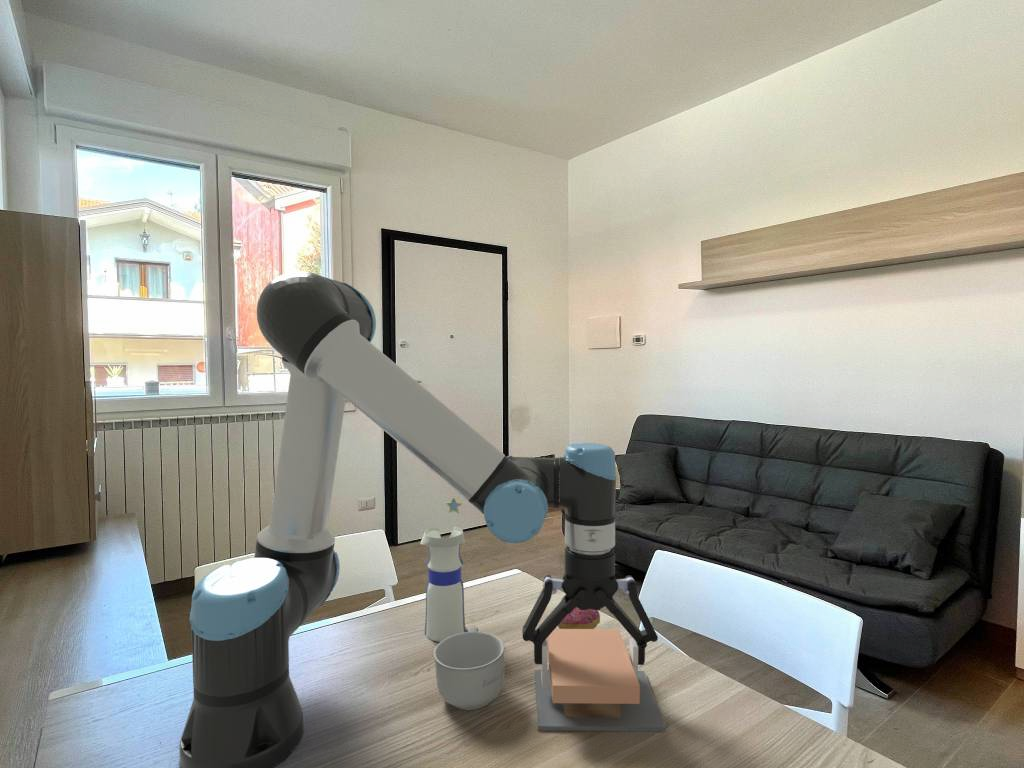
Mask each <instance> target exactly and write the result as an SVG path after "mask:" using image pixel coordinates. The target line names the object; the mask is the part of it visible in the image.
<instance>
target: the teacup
mask: <svg viewBox="0 0 1024 768" xmlns="http://www.w3.org/2000/svg"><path fill="white" fill-rule="evenodd" d="M505 649H506V648H505V644H504V642H503V640H502V639H501V638H500V637H498V636H497V635H495V634H493V633H489V632H483V631H479V628H478V626H469V627H468V631H465V632H464V633H459V634H455V635H452V636H450V637H448V638H446V639H444V640H443V641H441V642H439V643H438V644H437V645H436V646H435V647H434V650H433V660H434V670H435V677H436V684H437V685H436V686H437V690H438V692H439V694H440V696H441V698H442V699H443V700H444V702H447V703H448V704H450V705H451V706H453V707H456V708H458V709H460V710H463V711H464V710H465V711H466V710H468V711H469V710H471V711H473V710H477V709H480V708H483V707H486V706H487V705H488V704H490V703H491V702H492V701H493V700H494V699H496V697H498V695H499V694H500V693H501V691H502V689H503V687H504V683H505V673H506V671H505Z"/></svg>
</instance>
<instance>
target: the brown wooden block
mask: <svg viewBox="0 0 1024 768" xmlns="http://www.w3.org/2000/svg"><path fill="white" fill-rule="evenodd" d="M563 704H564V712H565V717H601V718H621V704H599V703H563Z"/></svg>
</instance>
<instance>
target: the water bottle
mask: <svg viewBox="0 0 1024 768" xmlns="http://www.w3.org/2000/svg"><path fill="white" fill-rule="evenodd" d="M445 504H446V505H447V506H448V507H449V509H448V510H449V511H448V513H452V512H455V513H457V514H459V513H460V511H459V507H460V506H461V505H463V503H461V502H457V500H456V498H455V497H452V500H451V501H448V502H445ZM441 536H442V535H441V533H440V531H439V528H437V527H435V526H434V527H429V528H428V529H425V530H424V532H423V536H422V538H421V540H420V545H422V546H426V547H428V550H429V555H428V556H429V557H428V558H427V561H426V564H425V565H426V567H427V568H428V569H427V571H428V572H427V573H428V574H427V575H428V578H427V579H428V580H427V583H426V588H425V620H424V621H425V623H424V624H425V625H424V635H425V637H426V638H427V639H429V640H430V641H433V642H439V643H440V642H441V641H443V640H444V639H446V638H448V637H450V636H452V635H455V634H459V633H464V632H466V622H465V621H466V620H465V591H464V589H465V588H464V582H463V579H462V566H463V565H464V559H462V557H461V545H462V544H466V543H467V541H466V538H465V534H464V531H463V529H462V528H460V527H458V526H454V527H453V528H452V530H451V533H450V535H449V537H441Z"/></svg>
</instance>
